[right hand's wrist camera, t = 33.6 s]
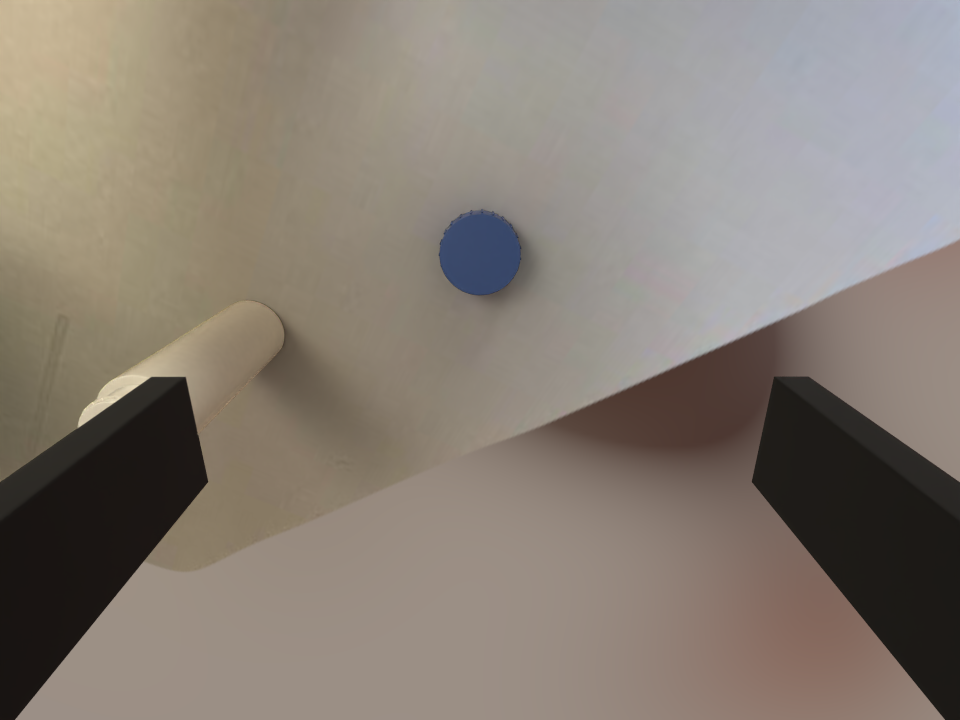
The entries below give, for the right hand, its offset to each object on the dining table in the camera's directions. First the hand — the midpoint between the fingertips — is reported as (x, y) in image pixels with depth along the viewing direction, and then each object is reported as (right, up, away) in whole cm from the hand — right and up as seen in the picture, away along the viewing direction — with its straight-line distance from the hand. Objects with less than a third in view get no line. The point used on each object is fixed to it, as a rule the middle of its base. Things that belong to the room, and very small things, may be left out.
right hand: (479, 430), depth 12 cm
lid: (0, +8, +22) cm, 24 cm away
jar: (-16, +4, +26) cm, 31 cm away
